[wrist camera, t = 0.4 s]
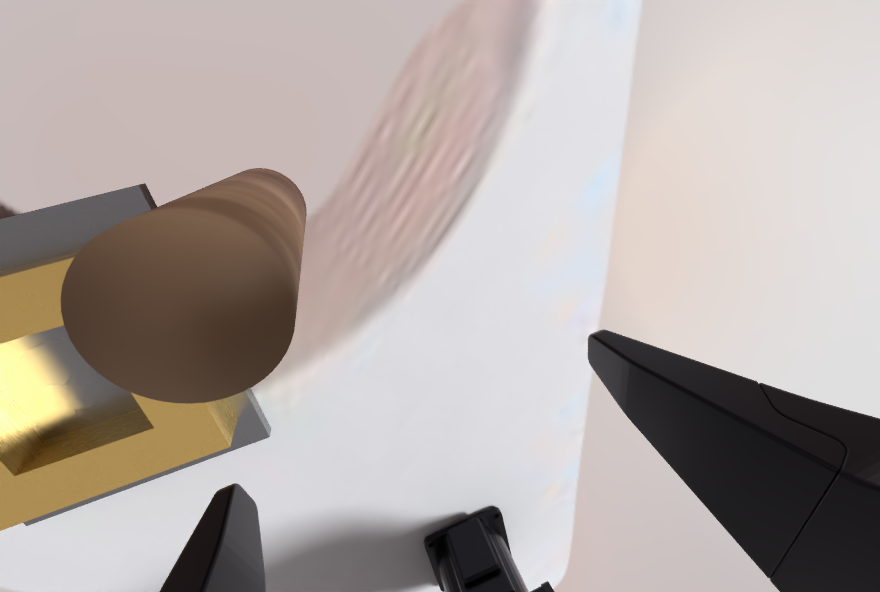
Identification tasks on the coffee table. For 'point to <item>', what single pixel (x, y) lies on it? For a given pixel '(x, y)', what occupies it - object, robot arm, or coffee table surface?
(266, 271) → the pin
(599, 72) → the coffee table surface
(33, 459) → the socket
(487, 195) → the coffee table surface
